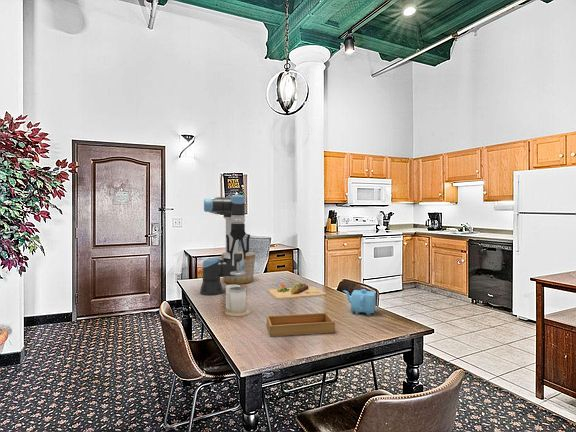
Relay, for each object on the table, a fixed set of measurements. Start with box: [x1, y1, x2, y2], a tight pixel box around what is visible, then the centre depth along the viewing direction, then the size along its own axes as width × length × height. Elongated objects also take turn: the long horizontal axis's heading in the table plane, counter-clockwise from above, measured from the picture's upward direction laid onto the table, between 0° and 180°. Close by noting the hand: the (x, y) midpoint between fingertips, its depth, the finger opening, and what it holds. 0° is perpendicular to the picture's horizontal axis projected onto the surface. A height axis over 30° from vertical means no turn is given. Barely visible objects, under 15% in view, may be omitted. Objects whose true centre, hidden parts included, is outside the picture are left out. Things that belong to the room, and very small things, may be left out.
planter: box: [220, 250, 256, 285], centre depth 285 cm, size 26×26×22 cm
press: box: [224, 286, 251, 317], centre depth 203 cm, size 14×14×13 cm
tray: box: [266, 312, 336, 337], centre depth 177 cm, size 31×15×6 cm, turn 99°
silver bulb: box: [230, 253, 246, 275], centre depth 202 cm, size 8×8×11 cm
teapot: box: [343, 288, 377, 316], centre depth 206 cm, size 18×16×13 cm
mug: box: [225, 284, 241, 294], centre depth 222 cm, size 9×12×11 cm
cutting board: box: [267, 282, 328, 300], centre depth 248 cm, size 35×23×8 cm
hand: (237, 265), depth 202 cm, fingers closed on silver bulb, 5 cm apart
